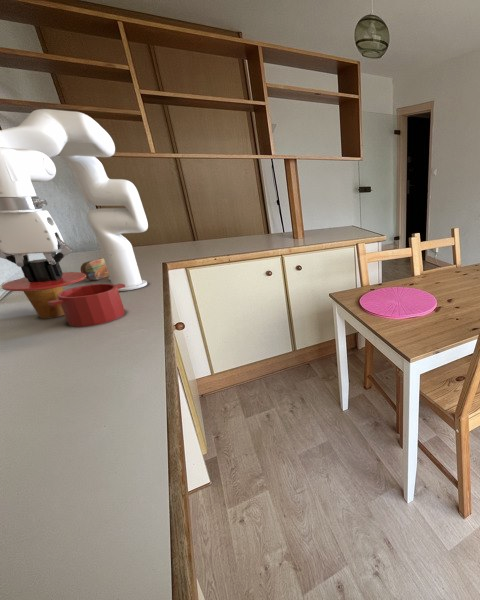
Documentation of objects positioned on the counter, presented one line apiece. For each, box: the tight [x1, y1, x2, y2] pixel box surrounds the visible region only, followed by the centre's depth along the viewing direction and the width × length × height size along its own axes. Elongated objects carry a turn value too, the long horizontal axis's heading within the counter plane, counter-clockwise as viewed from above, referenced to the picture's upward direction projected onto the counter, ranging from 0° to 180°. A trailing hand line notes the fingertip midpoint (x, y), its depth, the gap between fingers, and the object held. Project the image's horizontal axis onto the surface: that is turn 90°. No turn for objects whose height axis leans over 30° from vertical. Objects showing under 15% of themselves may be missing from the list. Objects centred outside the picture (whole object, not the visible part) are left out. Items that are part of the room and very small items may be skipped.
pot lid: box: [1, 258, 86, 292], centre depth 79 cm, size 15×15×6 cm
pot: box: [47, 283, 126, 328], centre depth 100 cm, size 14×19×10 cm
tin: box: [80, 257, 110, 281], centre depth 140 cm, size 15×3×8 cm, turn 179°
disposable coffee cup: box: [22, 286, 65, 319], centre depth 101 cm, size 10×10×12 cm
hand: (45, 279), depth 79 cm, fingers closed on pot lid, 3 cm apart
